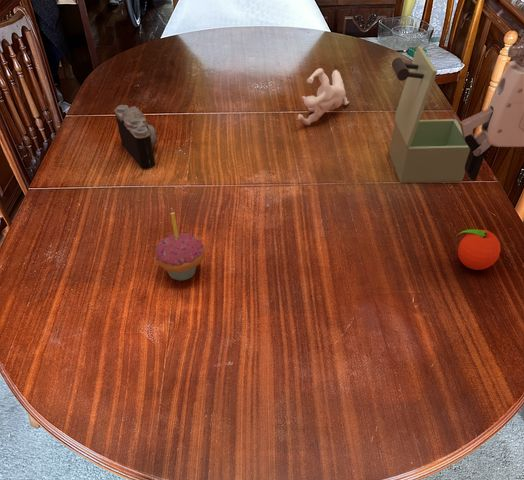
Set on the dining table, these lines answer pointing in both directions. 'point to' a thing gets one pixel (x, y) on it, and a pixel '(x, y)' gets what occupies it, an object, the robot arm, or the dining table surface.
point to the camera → (136, 135)
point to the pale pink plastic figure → (324, 96)
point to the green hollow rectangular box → (430, 152)
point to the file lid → (413, 91)
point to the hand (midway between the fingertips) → (500, 175)
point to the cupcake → (179, 253)
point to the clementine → (478, 249)
